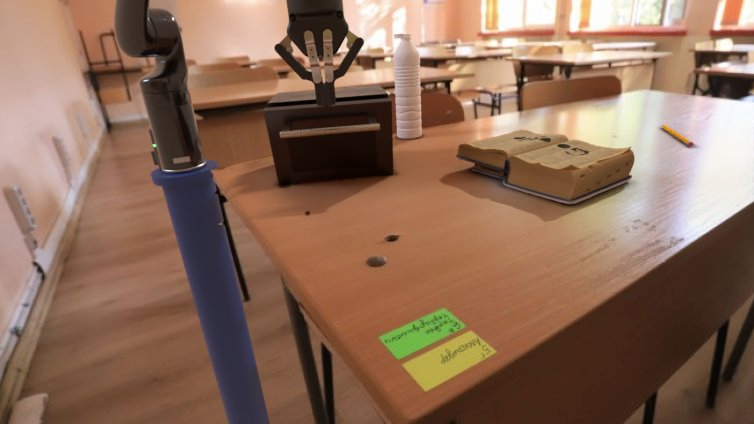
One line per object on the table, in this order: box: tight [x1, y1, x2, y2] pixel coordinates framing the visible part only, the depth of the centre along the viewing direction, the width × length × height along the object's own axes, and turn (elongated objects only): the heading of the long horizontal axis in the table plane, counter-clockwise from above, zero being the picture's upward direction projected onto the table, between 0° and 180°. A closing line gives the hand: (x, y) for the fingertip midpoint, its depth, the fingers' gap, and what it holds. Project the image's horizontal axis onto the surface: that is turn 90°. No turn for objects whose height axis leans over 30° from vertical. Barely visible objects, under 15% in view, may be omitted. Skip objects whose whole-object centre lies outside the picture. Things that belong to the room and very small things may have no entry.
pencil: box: [661, 124, 694, 147], centre depth 93 cm, size 1×19×1 cm, turn 163°
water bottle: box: [392, 33, 423, 140], centre depth 104 cm, size 9×6×25 cm
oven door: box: [262, 97, 394, 186], centre depth 74 cm, size 6×22×15 cm, turn 95°
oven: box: [266, 84, 389, 108], centre depth 86 cm, size 16×22×15 cm
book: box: [455, 129, 636, 205], centre depth 73 cm, size 25×17×6 cm
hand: (326, 108), depth 61 cm, fingers closed
